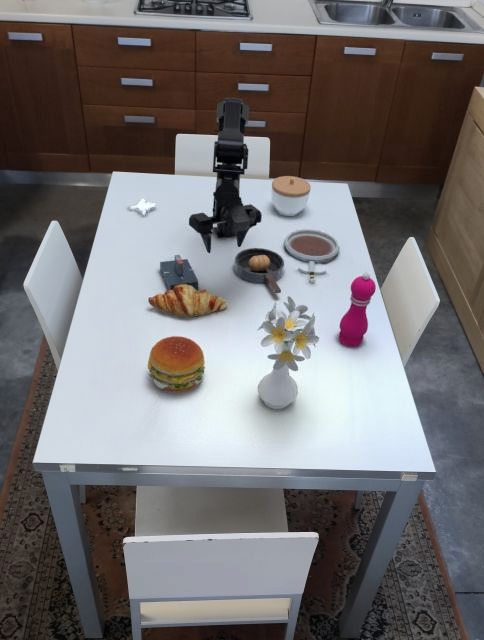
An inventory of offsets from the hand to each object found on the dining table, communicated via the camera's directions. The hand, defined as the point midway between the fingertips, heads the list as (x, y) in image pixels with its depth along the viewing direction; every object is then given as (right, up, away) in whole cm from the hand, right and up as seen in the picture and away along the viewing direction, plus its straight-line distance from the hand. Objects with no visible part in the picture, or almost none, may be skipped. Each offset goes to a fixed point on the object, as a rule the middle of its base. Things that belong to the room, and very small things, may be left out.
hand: (223, 249), depth 170 cm
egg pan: (+10, -1, +17) cm, 20 cm away
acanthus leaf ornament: (-27, +25, +39) cm, 53 cm away
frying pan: (+26, +4, +24) cm, 36 cm away
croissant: (-10, -16, +2) cm, 19 cm away
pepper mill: (+33, -24, -2) cm, 41 cm away
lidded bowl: (+21, +26, +44) cm, 55 cm away
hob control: (-13, -5, +11) cm, 18 cm away
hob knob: (-13, -3, +9) cm, 16 cm away
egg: (+10, -1, +17) cm, 20 cm away
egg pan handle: (+13, -7, +9) cm, 17 cm away
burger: (-11, -36, -17) cm, 41 cm away
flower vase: (+13, -42, -20) cm, 48 cm away
